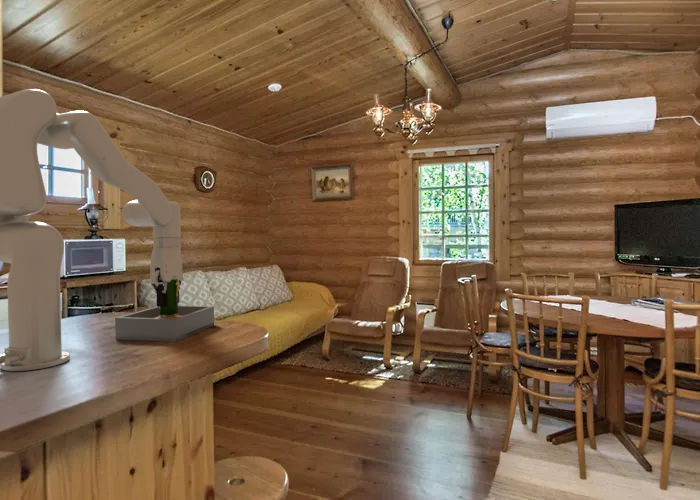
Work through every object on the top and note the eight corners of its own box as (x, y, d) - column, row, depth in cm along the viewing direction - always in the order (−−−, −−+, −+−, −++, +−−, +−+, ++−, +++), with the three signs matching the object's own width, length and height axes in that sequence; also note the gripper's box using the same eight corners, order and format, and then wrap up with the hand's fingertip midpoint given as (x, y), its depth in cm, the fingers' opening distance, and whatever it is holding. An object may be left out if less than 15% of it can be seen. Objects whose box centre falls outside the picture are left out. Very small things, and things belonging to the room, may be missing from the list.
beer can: (161, 318, 125) (161, 276, 124) (156, 315, 129) (155, 275, 129) (180, 316, 128) (180, 275, 128) (175, 313, 132) (174, 274, 132)
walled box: (175, 341, 116) (175, 319, 116) (115, 339, 119) (115, 317, 119) (214, 325, 138) (213, 306, 138) (162, 323, 141) (162, 305, 141)
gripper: (171, 243, 137) (172, 300, 138) (137, 244, 120) (138, 309, 121) (193, 243, 136) (194, 300, 136) (161, 244, 119) (163, 310, 120)
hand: (168, 304), depth 129 cm, fingers closed on beer can, 5 cm apart
